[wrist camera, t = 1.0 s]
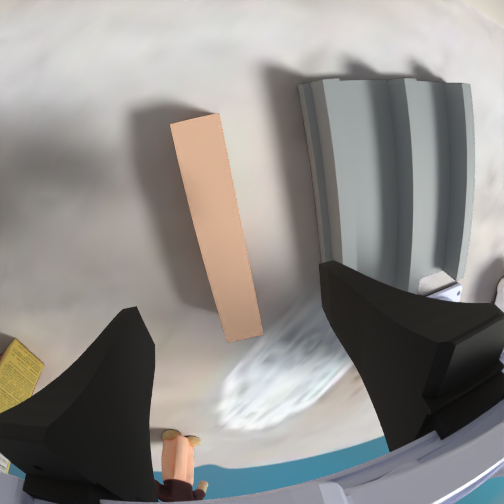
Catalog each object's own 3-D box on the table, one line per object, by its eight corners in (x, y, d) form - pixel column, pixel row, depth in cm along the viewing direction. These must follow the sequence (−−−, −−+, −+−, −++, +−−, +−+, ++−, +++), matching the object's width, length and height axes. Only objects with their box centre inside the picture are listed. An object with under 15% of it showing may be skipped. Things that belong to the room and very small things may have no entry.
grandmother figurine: (213, 435, 30) (225, 534, 18) (202, 449, 31) (210, 540, 20) (147, 421, 27) (142, 526, 16) (140, 436, 29) (136, 532, 17)
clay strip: (255, 305, 23) (263, 334, 20) (223, 312, 23) (227, 342, 20) (216, 114, 17) (219, 112, 14) (176, 123, 17) (169, 124, 14)
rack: (447, 261, 24) (467, 276, 22) (324, 300, 24) (337, 323, 21) (448, 84, 17) (474, 84, 15) (297, 85, 17) (313, 80, 14)
